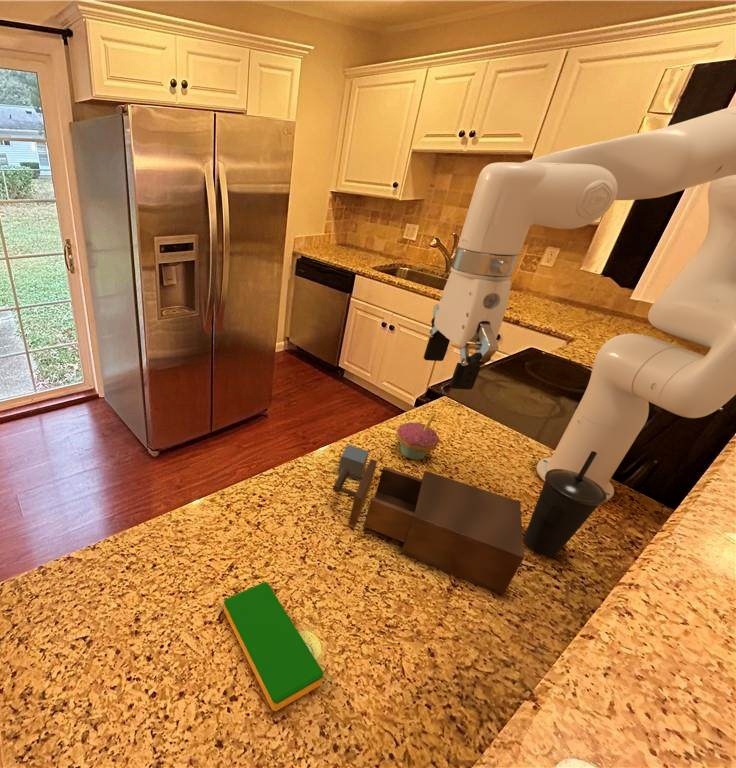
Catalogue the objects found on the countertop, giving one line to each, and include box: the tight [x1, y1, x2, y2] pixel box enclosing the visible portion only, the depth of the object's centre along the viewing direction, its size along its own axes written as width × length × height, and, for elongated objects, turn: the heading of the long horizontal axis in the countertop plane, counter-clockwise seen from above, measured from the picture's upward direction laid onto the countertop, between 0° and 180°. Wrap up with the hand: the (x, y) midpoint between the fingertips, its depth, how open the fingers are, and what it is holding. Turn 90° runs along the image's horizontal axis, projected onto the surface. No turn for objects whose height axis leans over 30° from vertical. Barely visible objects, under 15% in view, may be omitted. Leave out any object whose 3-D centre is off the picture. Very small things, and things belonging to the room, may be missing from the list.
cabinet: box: [401, 470, 525, 596], centre depth 68 cm, size 15×13×9 cm
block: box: [337, 444, 370, 482], centre depth 85 cm, size 4×4×4 cm
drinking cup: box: [523, 451, 607, 558], centre depth 65 cm, size 8×8×20 cm
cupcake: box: [395, 411, 441, 461], centre depth 89 cm, size 9×8×12 cm
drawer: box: [332, 458, 422, 544], centre depth 73 cm, size 18×11×7 cm, turn 60°
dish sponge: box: [223, 581, 324, 712], centre depth 54 cm, size 7×14×2 cm, turn 25°
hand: (445, 373), depth 65 cm, fingers open, 9 cm apart
